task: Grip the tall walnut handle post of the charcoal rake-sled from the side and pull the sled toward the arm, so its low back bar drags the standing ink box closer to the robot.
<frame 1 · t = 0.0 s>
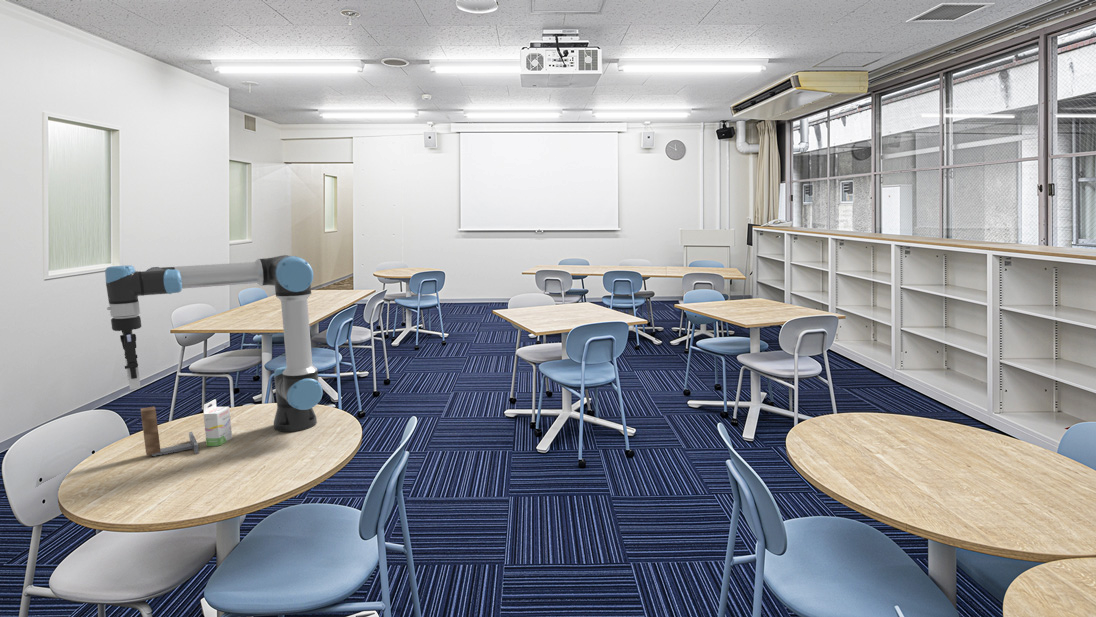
hand: (134, 384, 194), 28 cm above the table, tool pointing down, fingers open, 13 cm apart
sled: (169, 428, 211), point 8 cm above the table, slide at 0.0 cm
ink box: (220, 442, 221), on the table
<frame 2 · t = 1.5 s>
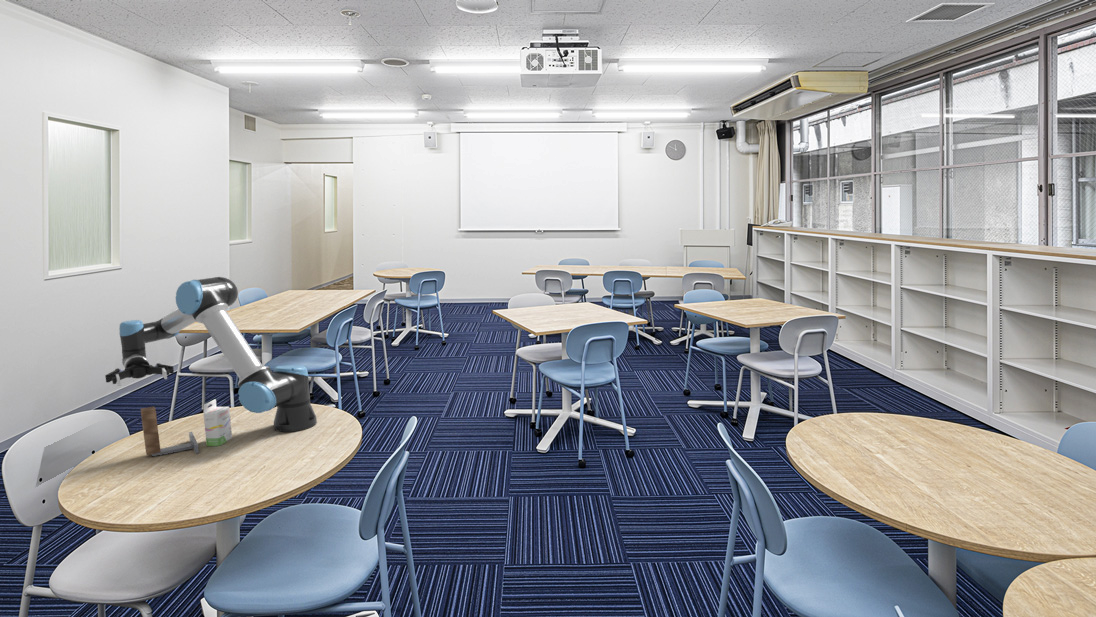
hand: (142, 378, 214), 24 cm above the table, tool horizontal, fingers open, 13 cm apart
nothing on the table moved.
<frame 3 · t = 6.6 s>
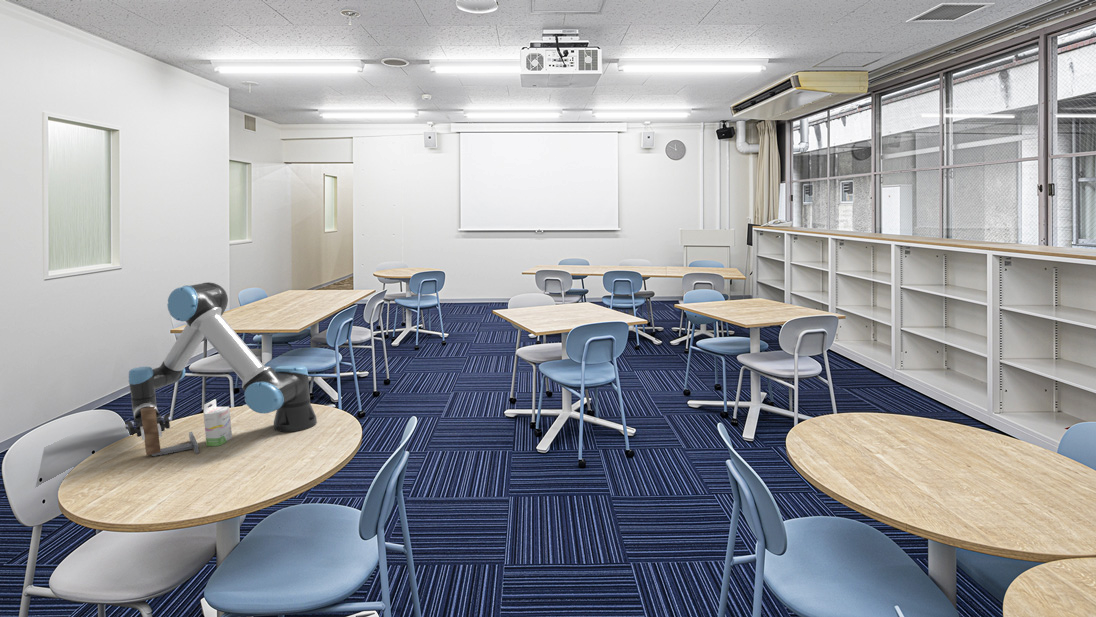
hand: (151, 434, 204), 9 cm above the table, tool horizontal, fingers closed on sled, 4 cm apart
sled: (169, 428, 211), point 8 cm above the table, slide at 0.0 cm, touching gripper
everything else where it was.
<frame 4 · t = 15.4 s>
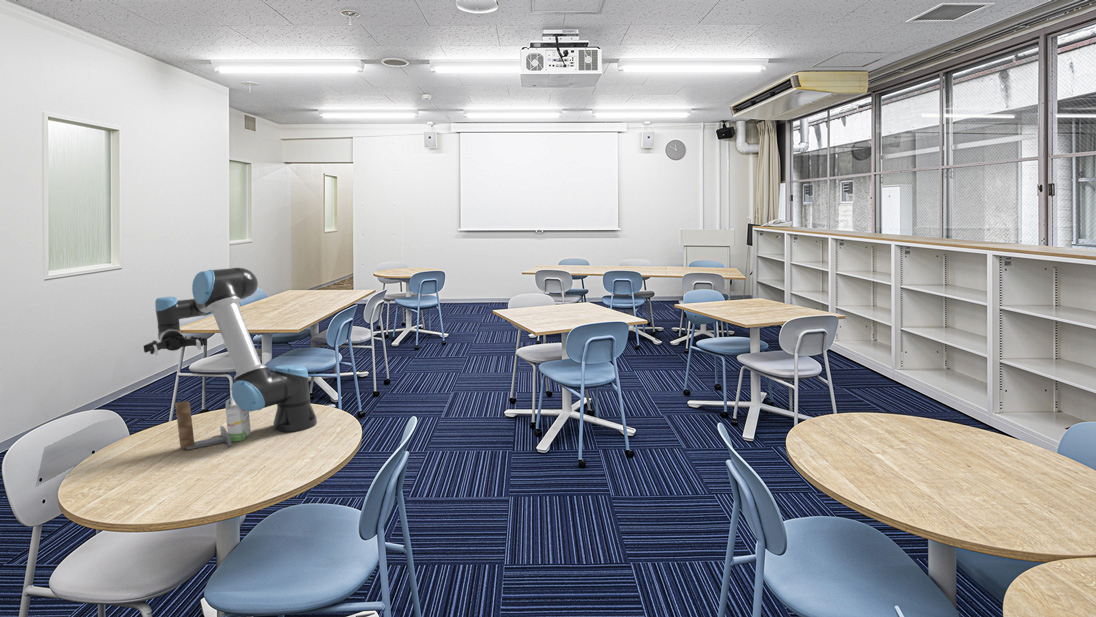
hand: (178, 348, 226), 32 cm above the table, tool horizontal, fingers open, 13 cm apart
sled: (202, 422, 217), point 8 cm above the table, slide at 10.0 cm
ink box: (240, 437, 225), on the table, touching arm
at the end: ink box inside the target area (0.9 cm from its centre), on the table; sled slide at 10.0 cm; ink box tilted 0° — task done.
